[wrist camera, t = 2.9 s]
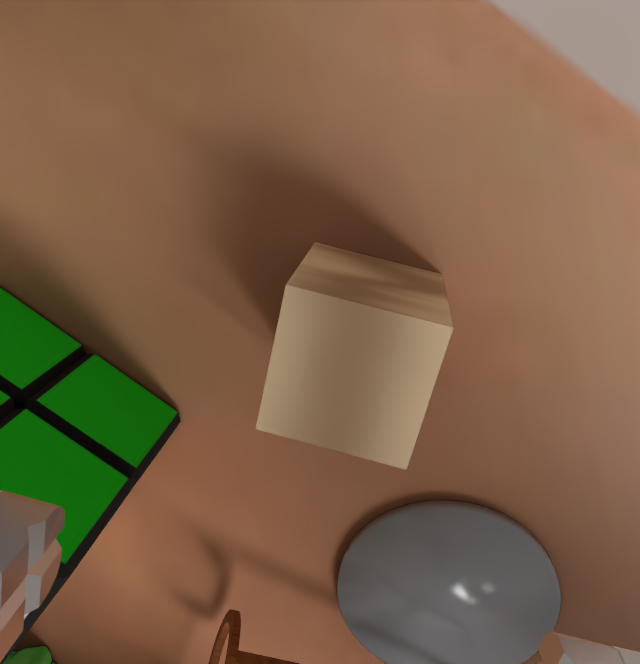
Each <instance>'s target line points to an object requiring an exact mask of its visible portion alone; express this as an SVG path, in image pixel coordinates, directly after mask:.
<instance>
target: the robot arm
mask: <svg viewBox="0 0 640 664" xmlns="http://www.w3.org/2000/svg"><path fill="white" fill-rule="evenodd" d="M64 520H65V510H64V509H63V508H62V507H61V506H58V505H54V504H51V503H47V502H43V501H40V500H36V499H33V498H29V497H26V496H22V495H19V494H15V493H11V492H8V491H1V490H0V662H1V661H2V659H3V658H4V657H5V655H6V654H7V652H8V651H9V650H10V648H11V647H12V645H13V644H14V642H15V641H16V640H17V638H18V637H19V635H20V634H21V633H22V631H23V625H24V615H25V614H27V613H29V612H31V611H33V610H35V609H37V608H39V607H40V605H41V604H42V602H43V601H44V599H45V598H46V596H47V595H48V593H49V591H50V589H51V587H52V585H53V583H54V580H55V578H56V576H57V573H58V569H59V566H60V562H61V554H62V548H61V546H60V544H59V543H58V541H57V539H56V537H57V536H58V534H59V533H60V532H61V530H62V529H63V528H64ZM538 650H539V653H540V657H541V661H539V662H538V663H536V664H640V652H637V651H633V650H629V649H625V648H620V647H616V646H608V645H606V644H602V643H598V642H594V641H589V640H585V639H581V638H577V637H573V636H569V635H565V634H561V633H557V632H553V631H549V632H548V633H547V634H546V635H545V636H544V637H543V639H542V641H541V643H540V644H539V646H538Z"/></svg>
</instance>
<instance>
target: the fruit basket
mask: <svg viewBox="0 0 640 664" xmlns="http://www.w3.org/2000/svg"><path fill="white" fill-rule="evenodd" d="M3 664H55V663H54V662H53V661H52V658H51V654H50V651H49V650H48V648H47V647H45V646H39V647H32V648H24V649H22V650H21V651H18V652H16V651H12V653H11V654H10V655H8V657H7V658H6V659H5V661H4V662H3Z"/></svg>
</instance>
